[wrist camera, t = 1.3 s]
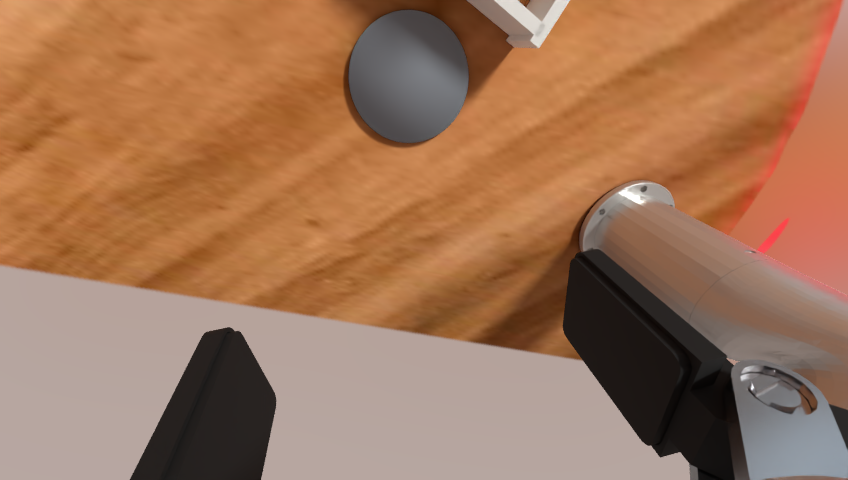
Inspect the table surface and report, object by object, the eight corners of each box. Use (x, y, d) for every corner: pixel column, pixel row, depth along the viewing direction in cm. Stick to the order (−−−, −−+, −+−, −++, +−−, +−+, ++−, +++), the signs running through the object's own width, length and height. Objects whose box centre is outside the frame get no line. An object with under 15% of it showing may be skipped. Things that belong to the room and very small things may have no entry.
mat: (489, 58, 32) (491, 59, 32) (428, 160, 36) (429, 162, 35) (385, -21, 28) (385, -22, 27) (328, 104, 32) (327, 105, 31)
